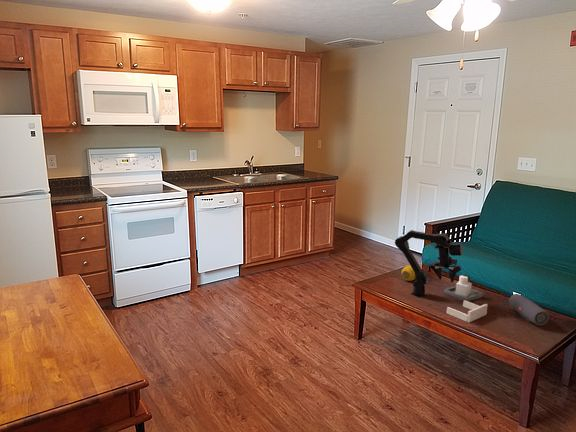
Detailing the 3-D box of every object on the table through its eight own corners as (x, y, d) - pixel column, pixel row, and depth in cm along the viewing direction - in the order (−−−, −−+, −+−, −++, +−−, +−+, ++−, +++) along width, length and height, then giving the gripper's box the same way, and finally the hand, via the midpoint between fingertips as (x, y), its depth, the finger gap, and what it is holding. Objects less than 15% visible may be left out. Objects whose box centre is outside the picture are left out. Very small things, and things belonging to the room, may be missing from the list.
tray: (443, 293, 270) (444, 289, 269) (460, 288, 278) (460, 284, 277) (465, 302, 256) (466, 298, 256) (482, 297, 265) (483, 293, 264)
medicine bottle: (459, 290, 272) (460, 272, 269) (470, 293, 267) (472, 275, 265) (454, 294, 267) (456, 275, 264) (466, 297, 262) (468, 278, 259)
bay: (446, 313, 242) (447, 303, 241) (464, 305, 252) (465, 296, 250) (468, 322, 231) (470, 312, 230) (486, 314, 241) (487, 304, 240)
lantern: (418, 258, 302) (394, 267, 283) (431, 264, 296) (406, 274, 276) (414, 270, 306) (390, 280, 287) (426, 277, 300) (402, 288, 280)
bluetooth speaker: (506, 309, 248) (508, 293, 246) (521, 308, 249) (524, 292, 247) (531, 328, 226) (534, 310, 224) (548, 327, 227) (551, 309, 225)
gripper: (466, 254, 249) (468, 280, 251) (441, 250, 266) (444, 274, 268) (452, 258, 244) (455, 285, 246) (428, 254, 261) (430, 279, 263)
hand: (446, 280), depth 256 cm, fingers open, 9 cm apart
